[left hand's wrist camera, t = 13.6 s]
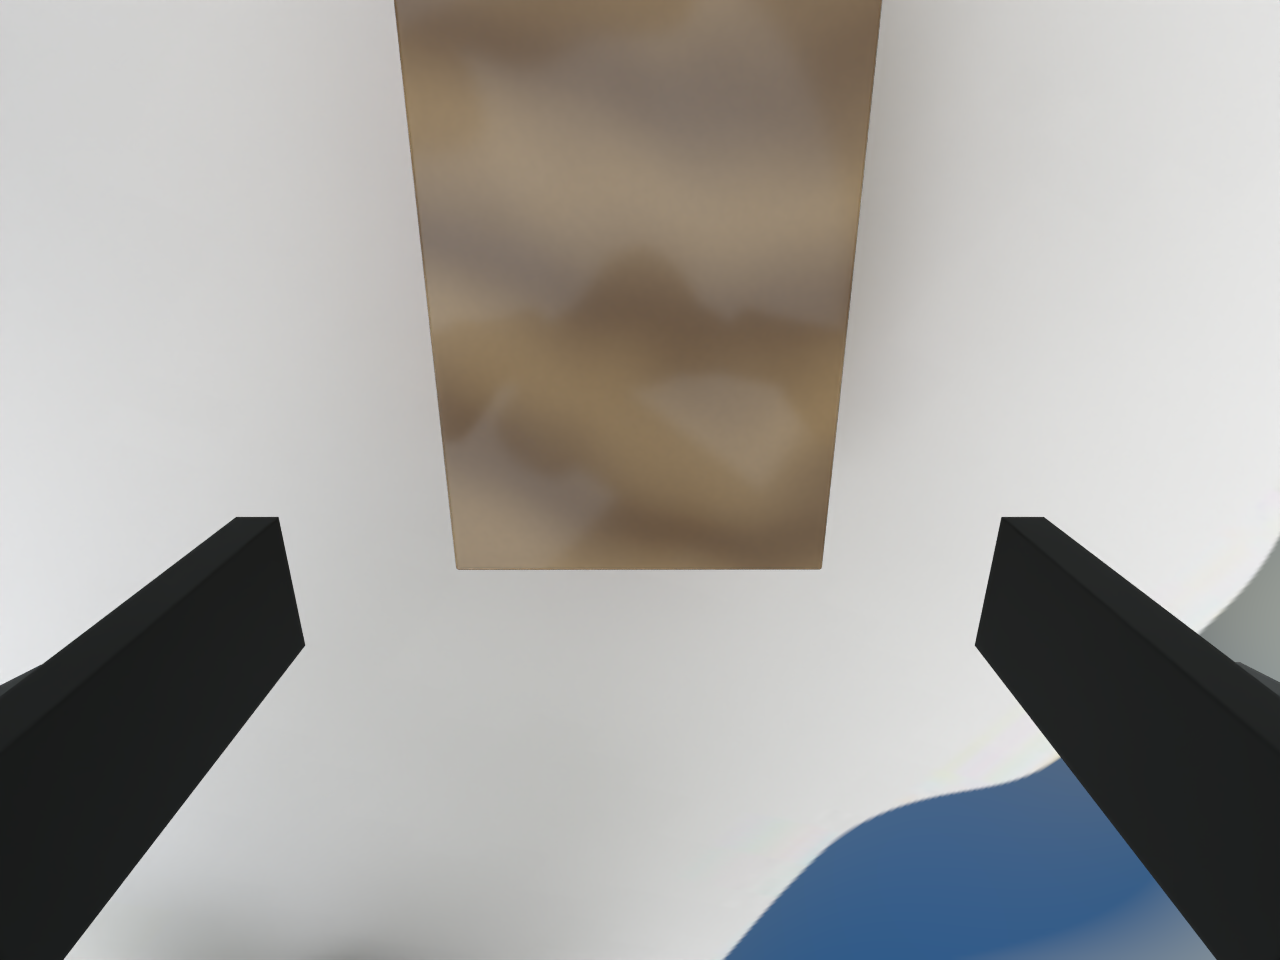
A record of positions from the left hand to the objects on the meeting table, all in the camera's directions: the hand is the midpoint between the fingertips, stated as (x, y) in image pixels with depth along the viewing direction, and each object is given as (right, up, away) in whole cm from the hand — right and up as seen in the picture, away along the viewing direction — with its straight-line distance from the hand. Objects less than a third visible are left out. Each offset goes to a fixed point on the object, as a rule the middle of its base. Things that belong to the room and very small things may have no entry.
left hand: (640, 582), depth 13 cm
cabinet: (0, +10, +12) cm, 15 cm away
